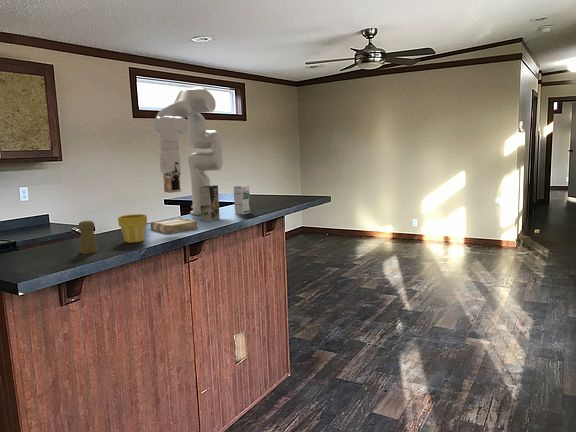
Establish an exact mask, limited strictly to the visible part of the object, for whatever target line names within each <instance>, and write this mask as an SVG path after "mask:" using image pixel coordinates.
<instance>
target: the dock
mask: <svg viewBox="0 0 576 432" xmlns="http://www.w3.org/2000/svg"><path fill="white" fill-rule="evenodd" d="M198 227H199V226H198V221H197V220H194V219H189V218H184V217H179V218H174V219H173V218H172V219H170V220H162V221H151V222H150V230H153V231H157V232H161V233H165V234H174V233H178V232H179V233H180V232H185V231H191V230H198Z"/></svg>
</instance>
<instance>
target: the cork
mask: <svg viewBox="0 0 576 432" xmlns="http://www.w3.org/2000/svg"><path fill="white" fill-rule="evenodd" d="M95 226H96V225H95V223H94V221H93V220H83V221H80V222H79V223H78V226H77V227H78V230H79V231H80V235H79V236H80V237H79V239H80V241H79V254H80V253H82V254H81V255H90V254H89V253H92V254H96V253H98V252H99V248H98V244H97V241H96V236H95V232H94V229H95ZM95 252H96V253H95Z"/></svg>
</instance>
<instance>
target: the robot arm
mask: <svg viewBox="0 0 576 432" xmlns="http://www.w3.org/2000/svg"><path fill="white" fill-rule="evenodd" d="M215 109H216V99H215V97H214V96H213V94H212V93H211V92H210V91H209V90H208V89H206V88H203V87H190V88H189V87H188V88H183V89H181V90H180V91H179V92H178V94H177V96H176V99H175V100H174V102H173V103H172V104H169V105H168V106H166V107H164V108H162V109H161V110H160V111H158V113H157V114H156V116H155V119H154V122H153V129H154V132H155V133H156V134H157V135H159V143H160V144H159V147H160V152H159V153H160V155H159V157H160V158H159V162H160V163H159V166H160V169H159V170H160V173H162V174H163V176H166V175H171V176H172V181H171V182H172V190H179V176H180V177H181V174H182V172H181V168H182V167H181V159H180V158H181V157H180V152H179V147H180V146H179V135H184V134H185V133H186V132H187V131H188V130H189V144H190V147H191V149H192V150H202V151H203V150H205V152H204V151H203V152H202V151H201V152H193V153H190V155H188V158H187V164H188V168H189V172H190V183H191V195H192V196H191V197H192V198H191V199H192V205H191V206H190V208H191V209H192V210H191V211H190V212H189V214H190V215H192V216H193V215H194V216H198V215H199V216H201V208H200V188H199V187H203V186H211V180H210V177H209V176H208V174H207V173H206V172H210V171H211V172H213V171H214V172H215V171H220V170H221V169H222V168H223V160H224V159H223V142H222V135H221V133H220V132H219V131H217V130H207V120H206V118H205V117H204V115H202V114H201V113H203V114H204V113H213V112H214V111H215ZM186 118H187V119H186ZM206 150H212V151H206ZM174 175H175V176H174Z"/></svg>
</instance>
